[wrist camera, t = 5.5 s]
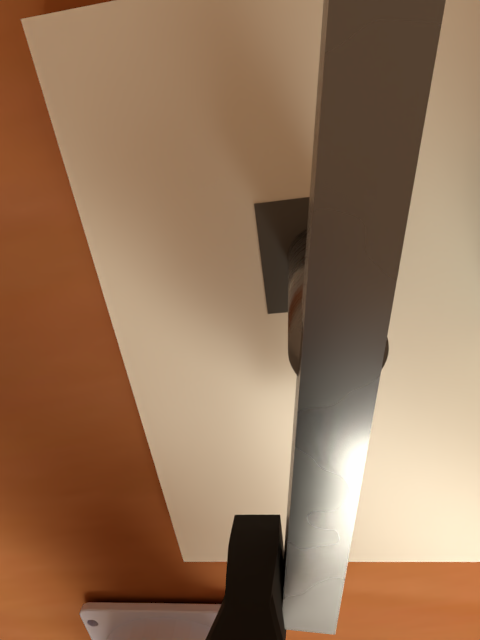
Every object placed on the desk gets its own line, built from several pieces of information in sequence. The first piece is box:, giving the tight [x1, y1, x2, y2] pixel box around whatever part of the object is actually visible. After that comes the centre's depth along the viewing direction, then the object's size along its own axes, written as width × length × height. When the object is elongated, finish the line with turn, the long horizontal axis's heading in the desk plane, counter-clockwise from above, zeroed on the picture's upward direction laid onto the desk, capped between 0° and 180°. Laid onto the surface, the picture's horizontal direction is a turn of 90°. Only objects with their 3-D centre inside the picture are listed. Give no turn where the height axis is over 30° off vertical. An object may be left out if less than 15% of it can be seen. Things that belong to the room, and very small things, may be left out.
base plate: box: [21, 0, 480, 562], centre depth 13 cm, size 18×18×1 cm
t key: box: [282, 0, 446, 635], centre depth 9 cm, size 2×13×5 cm, turn 0°
